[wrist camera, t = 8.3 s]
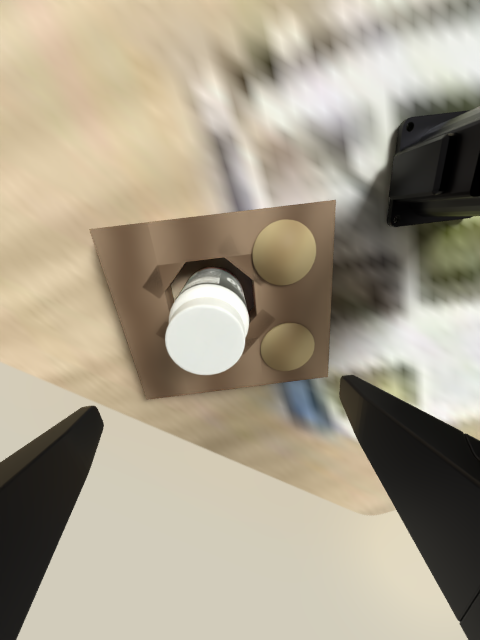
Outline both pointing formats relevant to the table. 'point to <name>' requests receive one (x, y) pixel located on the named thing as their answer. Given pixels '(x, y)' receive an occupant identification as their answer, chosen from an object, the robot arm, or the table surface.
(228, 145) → the table surface
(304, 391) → the table surface
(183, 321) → the pill bottle
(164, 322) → the pin board
